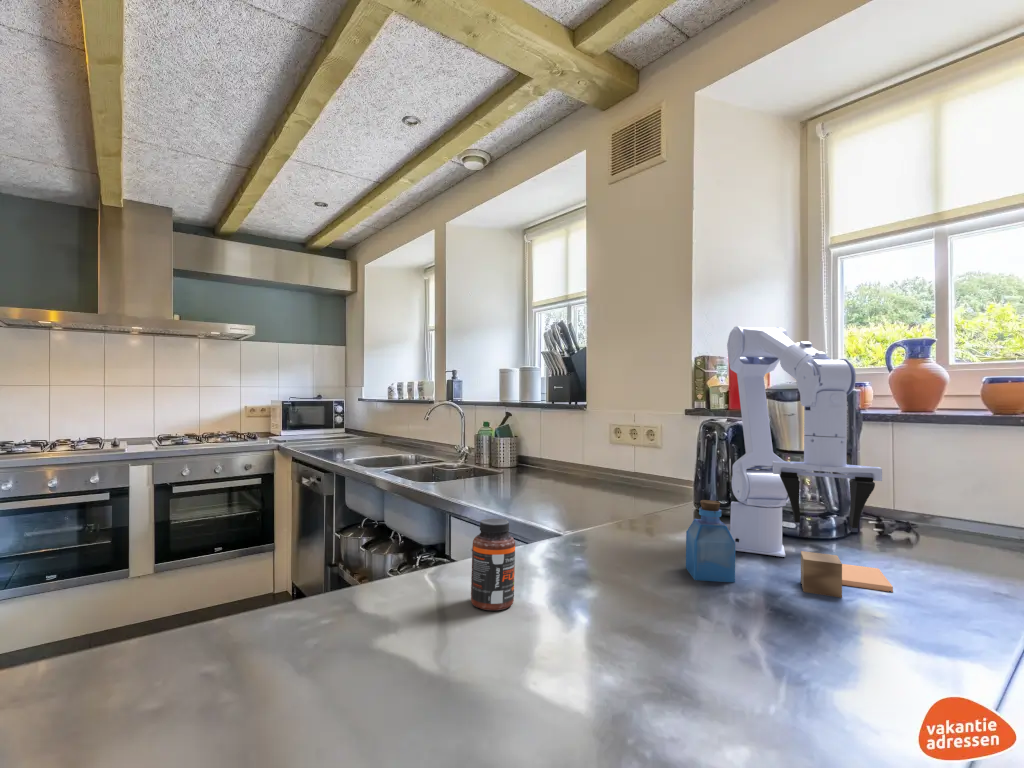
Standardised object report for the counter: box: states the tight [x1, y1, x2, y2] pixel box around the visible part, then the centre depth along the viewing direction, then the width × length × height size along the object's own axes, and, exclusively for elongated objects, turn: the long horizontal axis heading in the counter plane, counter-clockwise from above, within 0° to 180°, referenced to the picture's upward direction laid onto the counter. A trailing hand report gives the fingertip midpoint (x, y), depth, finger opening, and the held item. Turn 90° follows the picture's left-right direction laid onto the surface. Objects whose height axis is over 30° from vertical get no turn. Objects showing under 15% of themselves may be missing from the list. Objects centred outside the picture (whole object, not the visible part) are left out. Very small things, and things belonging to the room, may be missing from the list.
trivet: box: [842, 563, 894, 593], centre depth 87 cm, size 10×10×1 cm
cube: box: [800, 550, 843, 599], centre depth 81 cm, size 5×5×5 cm
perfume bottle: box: [685, 499, 736, 583], centre depth 87 cm, size 6×6×12 cm
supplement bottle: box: [470, 517, 516, 612], centre depth 72 cm, size 6×6×11 cm
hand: (824, 523), depth 81 cm, fingers open, 7 cm apart
